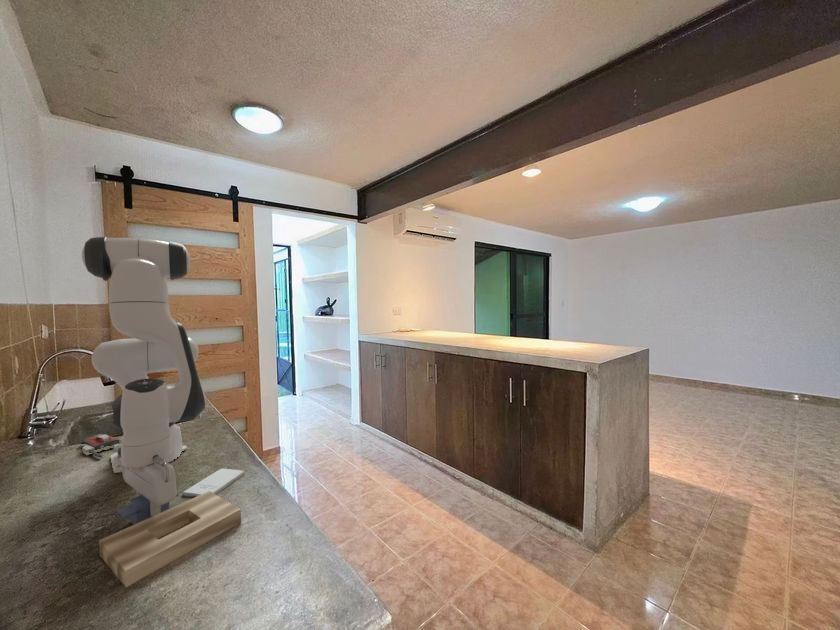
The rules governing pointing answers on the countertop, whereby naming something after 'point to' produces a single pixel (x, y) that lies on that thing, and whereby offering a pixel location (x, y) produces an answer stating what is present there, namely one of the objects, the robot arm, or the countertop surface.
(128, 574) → the wooden board with hole
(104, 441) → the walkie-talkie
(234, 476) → the external hard drive
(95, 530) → the countertop surface
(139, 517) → the block
